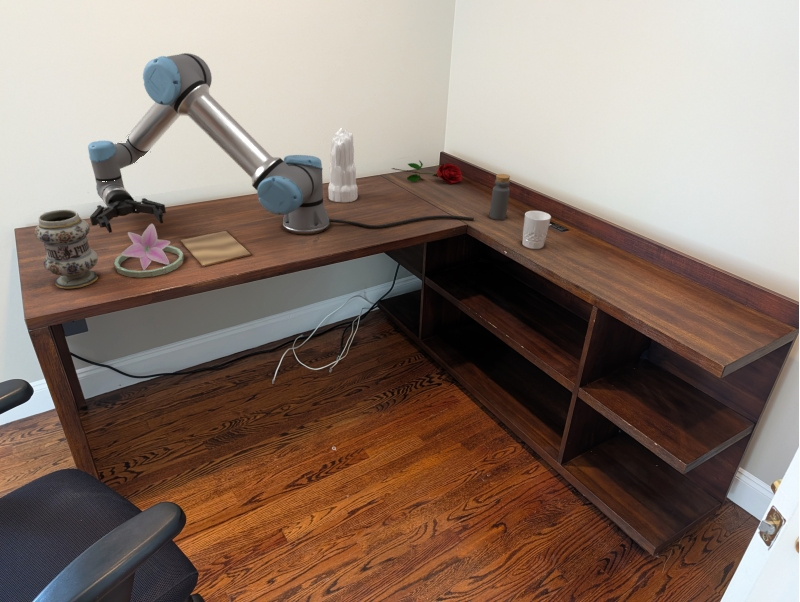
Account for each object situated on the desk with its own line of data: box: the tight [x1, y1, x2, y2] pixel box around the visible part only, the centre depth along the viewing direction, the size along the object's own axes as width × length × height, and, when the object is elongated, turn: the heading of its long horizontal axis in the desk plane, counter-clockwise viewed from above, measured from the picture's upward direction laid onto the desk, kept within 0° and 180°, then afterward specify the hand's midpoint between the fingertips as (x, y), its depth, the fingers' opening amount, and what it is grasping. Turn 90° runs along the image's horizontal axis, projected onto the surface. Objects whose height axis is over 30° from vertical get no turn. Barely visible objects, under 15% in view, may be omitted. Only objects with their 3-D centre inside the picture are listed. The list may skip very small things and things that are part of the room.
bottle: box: [489, 173, 511, 221], centre depth 185 cm, size 6×6×15 cm
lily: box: [121, 223, 171, 271], centre depth 147 cm, size 12×12×10 cm
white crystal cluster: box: [327, 127, 359, 204], centre depth 195 cm, size 11×11×25 cm
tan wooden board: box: [180, 230, 252, 267], centre depth 158 cm, size 20×14×1 cm
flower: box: [391, 160, 463, 185], centre depth 220 cm, size 9×9×30 cm
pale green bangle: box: [113, 245, 185, 279], centre depth 148 cm, size 17×17×2 cm
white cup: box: [521, 210, 552, 250], centre depth 167 cm, size 8×8×10 cm
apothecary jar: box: [34, 209, 99, 290], centre depth 134 cm, size 12×12×18 cm
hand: (136, 223), depth 150 cm, fingers open, 13 cm apart
